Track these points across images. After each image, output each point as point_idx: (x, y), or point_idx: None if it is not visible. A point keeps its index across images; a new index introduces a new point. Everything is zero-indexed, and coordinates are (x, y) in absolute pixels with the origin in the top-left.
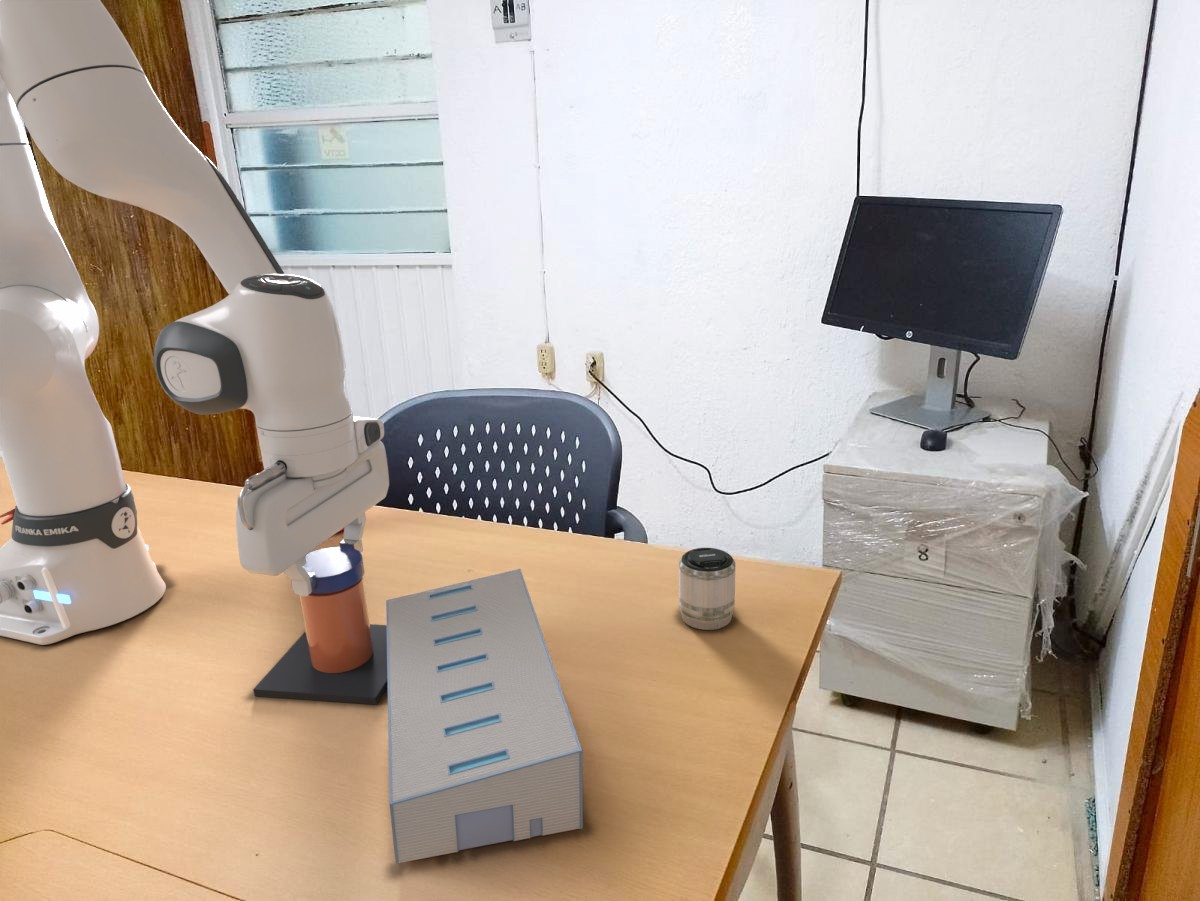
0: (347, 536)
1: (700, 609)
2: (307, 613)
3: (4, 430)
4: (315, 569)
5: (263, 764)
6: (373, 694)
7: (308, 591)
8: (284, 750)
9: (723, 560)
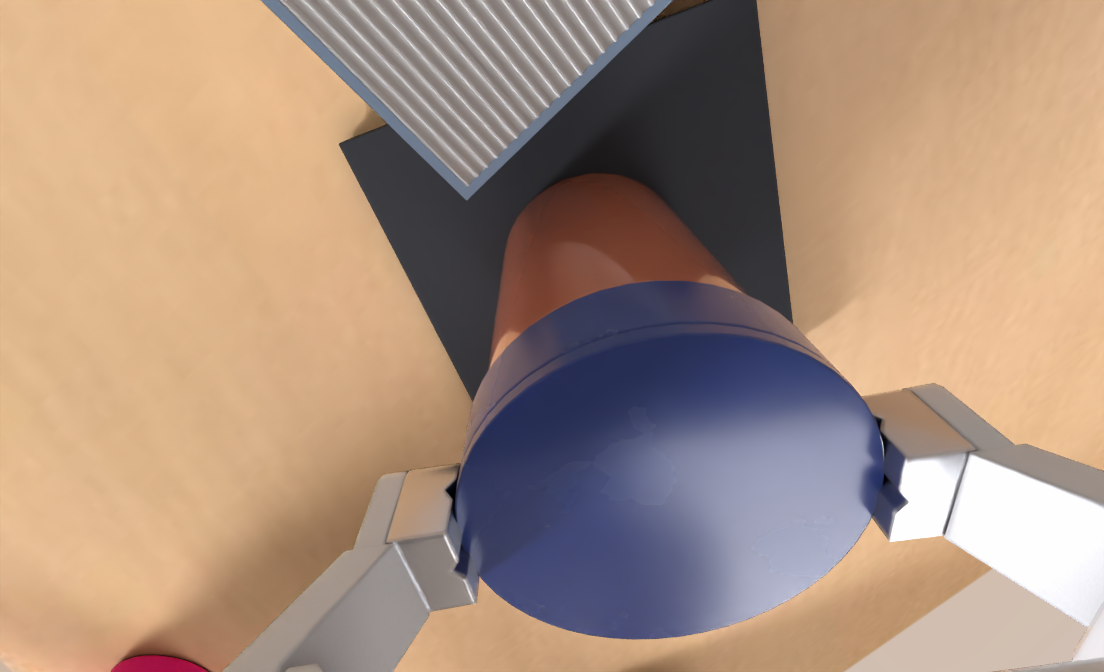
0: (408, 614)
1: None
2: None
3: None
4: (782, 507)
5: (1048, 111)
6: (738, 7)
7: (951, 393)
8: (988, 103)
9: None
